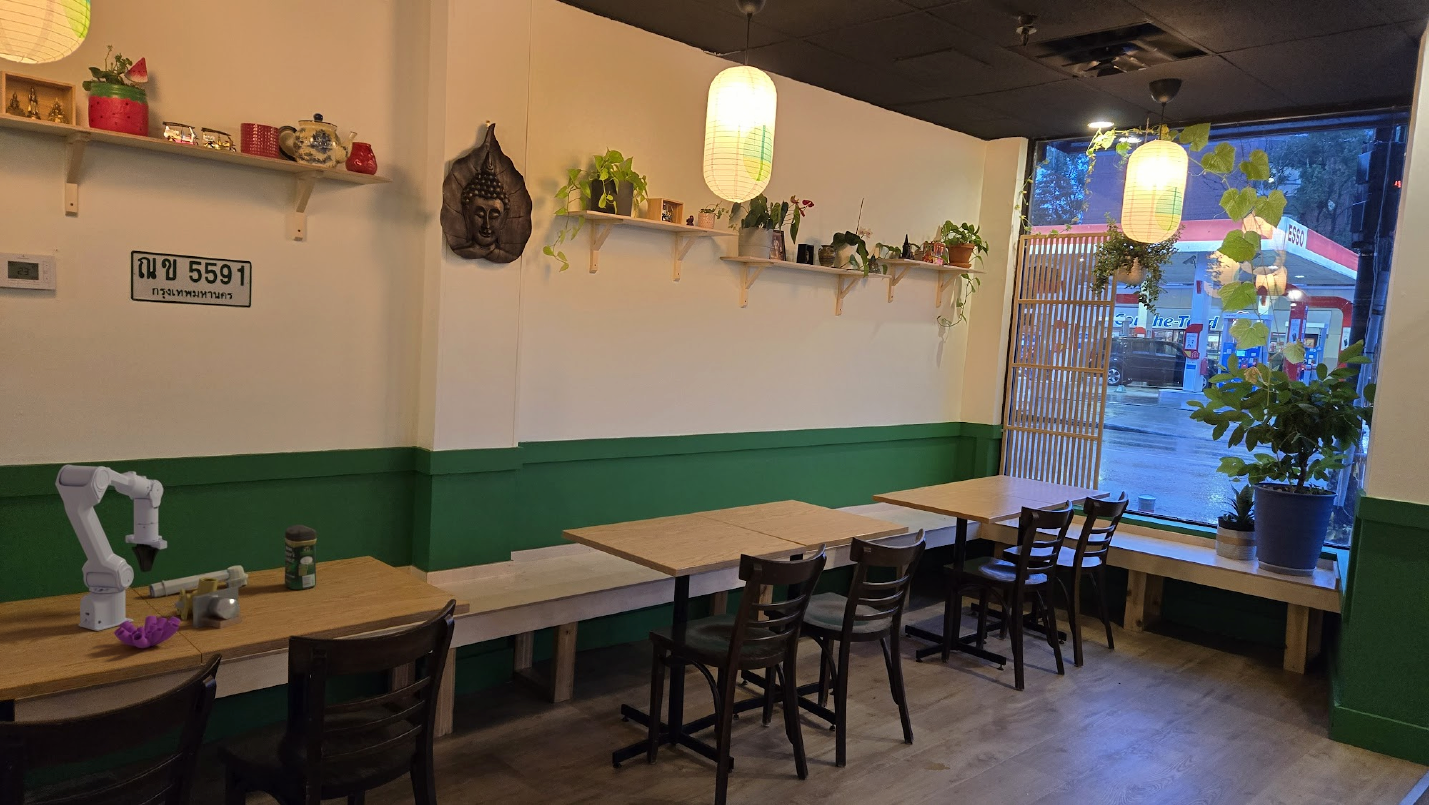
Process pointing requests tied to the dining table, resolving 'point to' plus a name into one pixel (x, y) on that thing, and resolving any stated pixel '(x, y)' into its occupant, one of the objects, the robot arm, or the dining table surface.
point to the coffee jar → (300, 557)
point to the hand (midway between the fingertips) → (146, 571)
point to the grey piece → (229, 576)
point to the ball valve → (186, 600)
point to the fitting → (217, 608)
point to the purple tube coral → (147, 631)
